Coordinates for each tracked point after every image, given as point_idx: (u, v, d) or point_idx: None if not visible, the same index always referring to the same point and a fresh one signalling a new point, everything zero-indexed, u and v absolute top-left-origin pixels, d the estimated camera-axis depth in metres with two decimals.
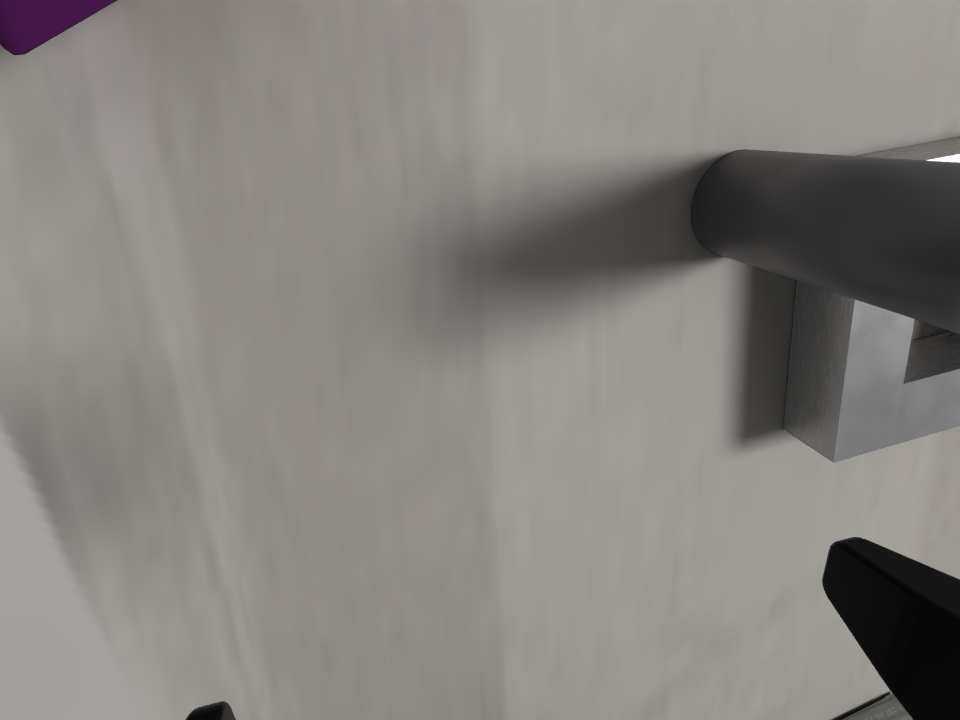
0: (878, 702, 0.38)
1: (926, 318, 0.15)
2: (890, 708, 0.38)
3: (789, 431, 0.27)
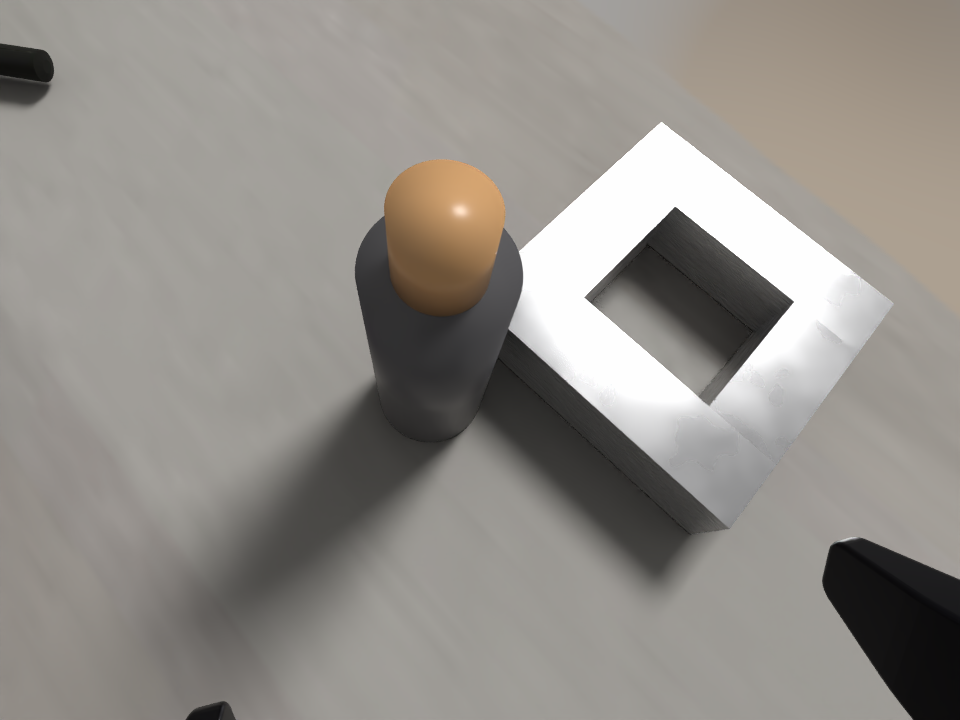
0: None
1: (441, 358, 0.14)
2: None
3: (692, 531, 0.22)
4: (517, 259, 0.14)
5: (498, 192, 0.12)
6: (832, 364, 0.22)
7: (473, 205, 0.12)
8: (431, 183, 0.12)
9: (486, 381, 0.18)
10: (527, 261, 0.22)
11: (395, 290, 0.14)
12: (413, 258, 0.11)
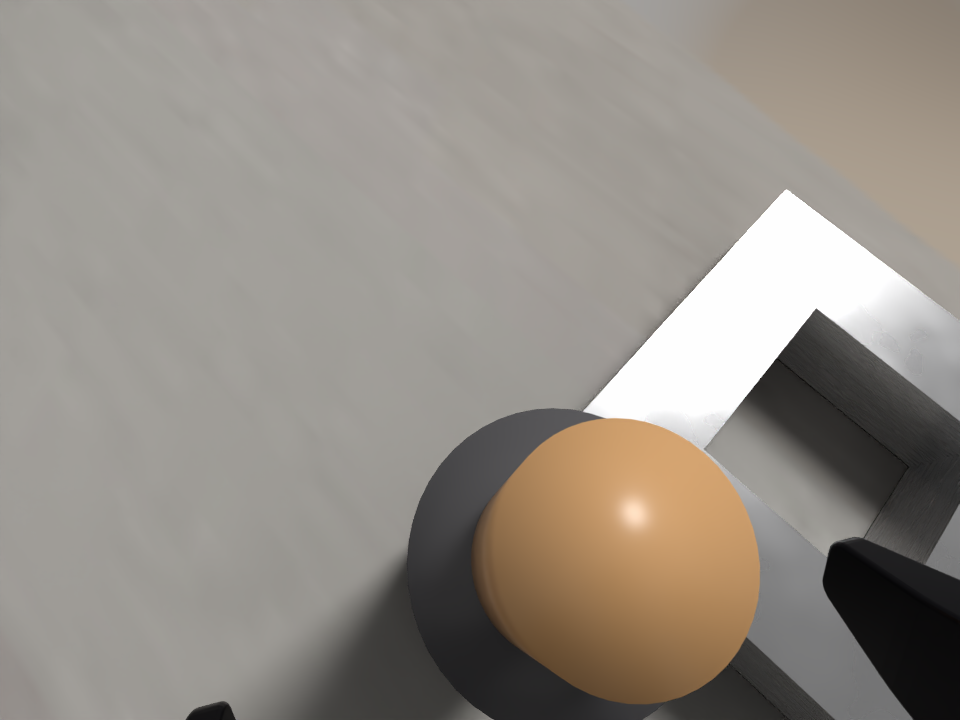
0: None
1: None
2: None
3: None
4: None
5: (735, 495, 0.05)
6: None
7: (688, 534, 0.05)
8: (592, 483, 0.05)
9: None
10: (622, 396, 0.16)
11: (485, 613, 0.07)
12: (565, 681, 0.05)
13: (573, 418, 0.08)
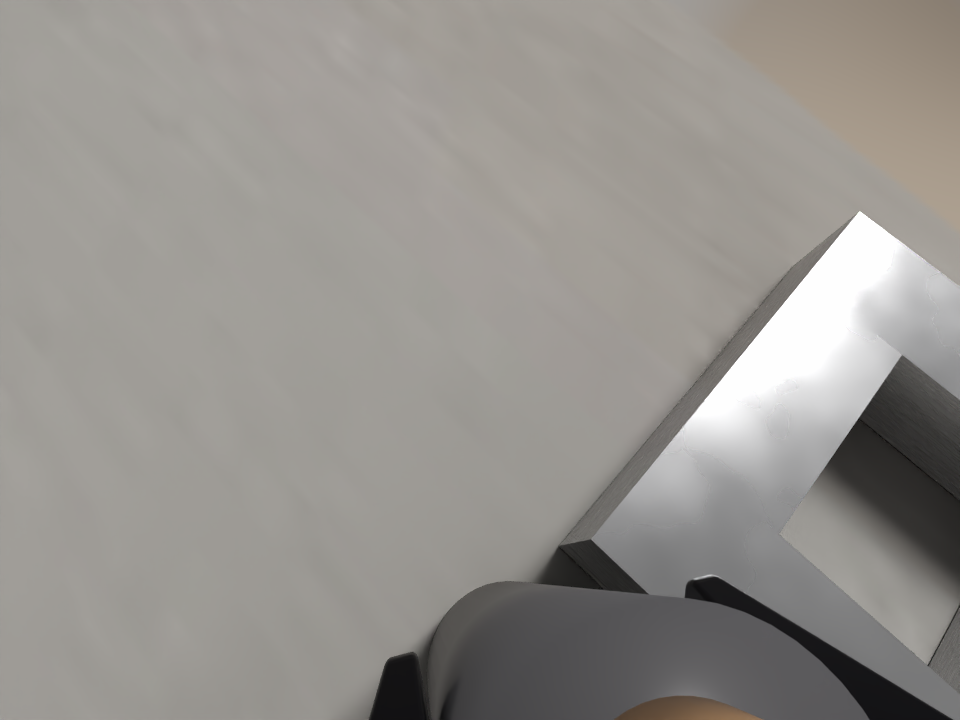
0: None
1: None
2: None
3: None
4: None
5: None
6: None
7: None
8: None
9: None
10: (679, 468, 0.13)
11: None
12: None
13: (695, 613, 0.05)
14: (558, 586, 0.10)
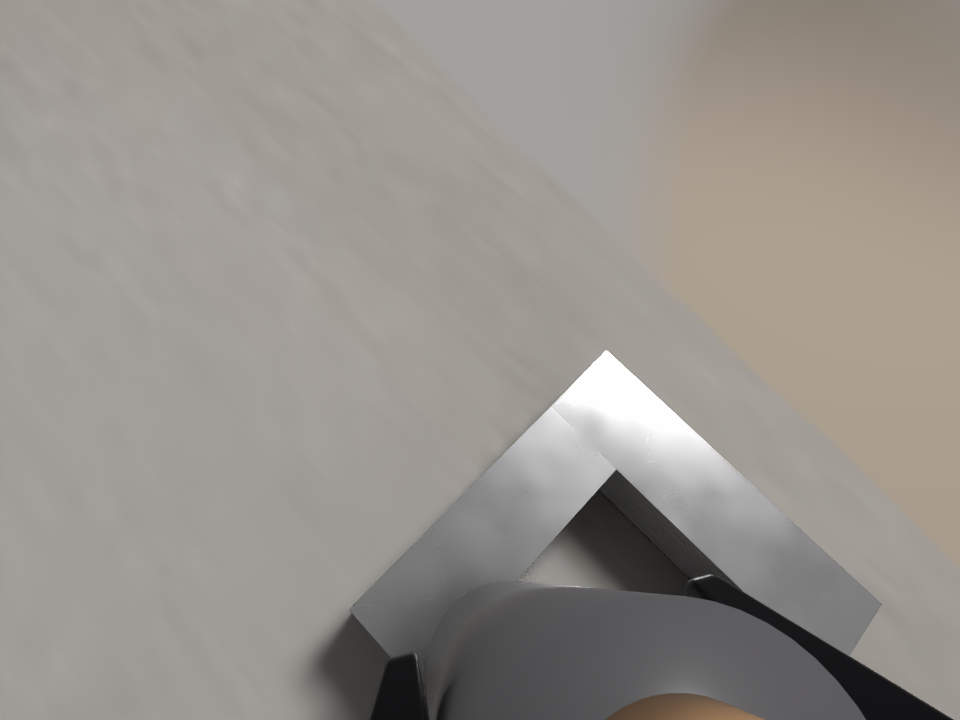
0: None
1: None
2: None
3: None
4: None
5: None
6: None
7: None
8: None
9: None
10: (424, 557, 0.18)
11: None
12: None
13: (690, 610, 0.05)
14: (556, 585, 0.10)
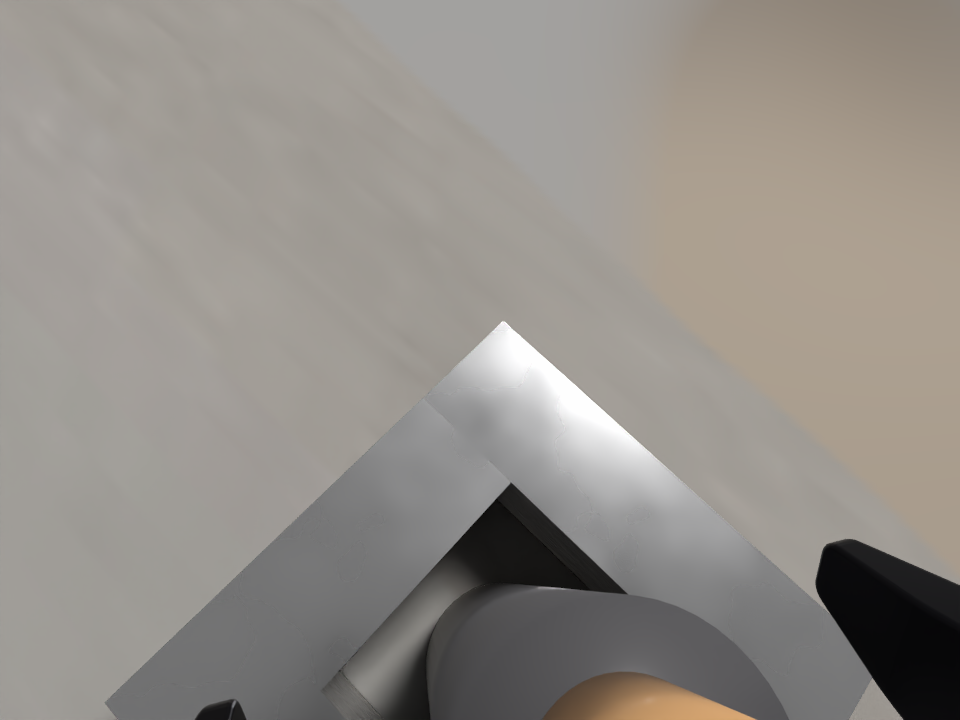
0: None
1: None
2: None
3: None
4: None
5: None
6: None
7: None
8: None
9: None
10: (226, 618, 0.13)
11: None
12: None
13: (636, 606, 0.07)
14: None
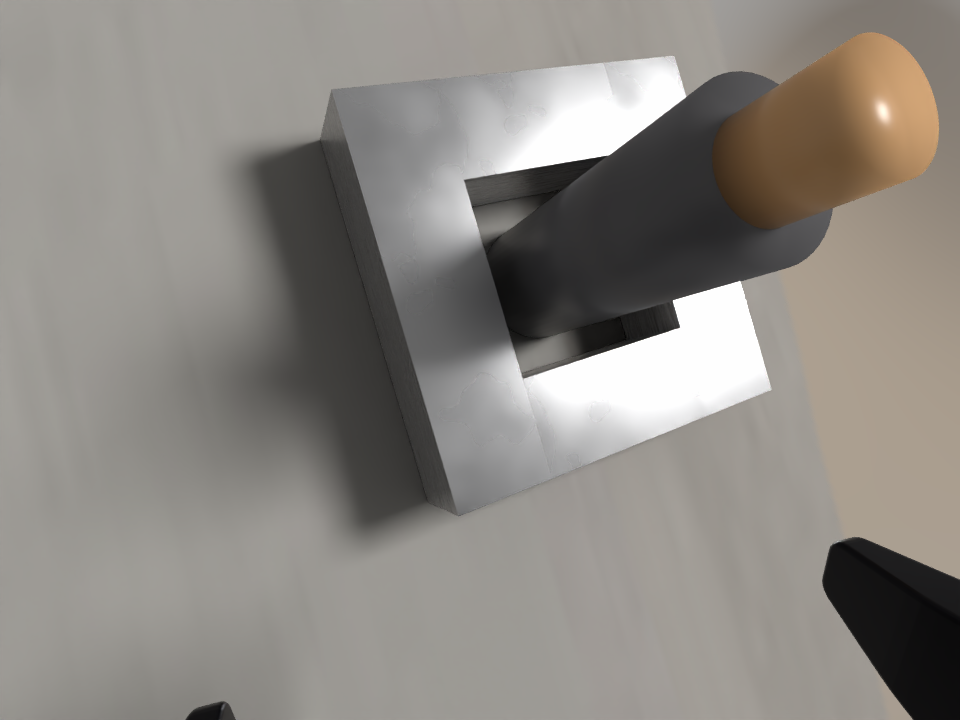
0: None
1: (705, 262, 0.12)
2: None
3: (430, 500, 0.18)
4: (828, 208, 0.12)
5: (936, 125, 0.10)
6: (675, 412, 0.19)
7: (912, 122, 0.09)
8: (886, 67, 0.09)
9: None
10: (425, 98, 0.17)
11: (715, 160, 0.11)
12: (833, 138, 0.09)
13: None
14: None
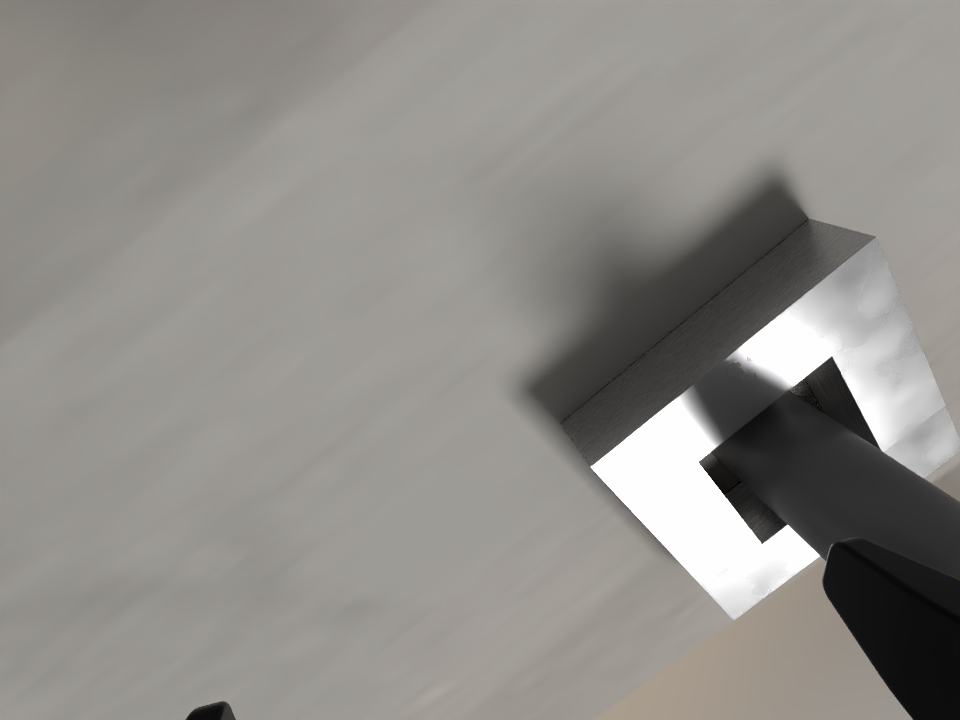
0: None
1: None
2: None
3: (566, 427, 0.23)
4: None
5: None
6: (701, 567, 0.24)
7: None
8: None
9: (790, 527, 0.21)
10: (886, 301, 0.20)
11: None
12: None
13: None
14: None
